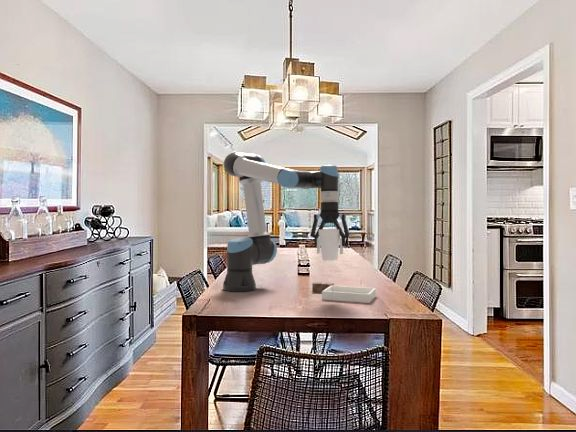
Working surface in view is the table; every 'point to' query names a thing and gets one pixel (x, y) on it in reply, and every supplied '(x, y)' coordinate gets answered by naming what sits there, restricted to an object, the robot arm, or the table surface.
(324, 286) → the walnut block
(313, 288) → the walnut block
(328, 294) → the tray
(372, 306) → the table surface
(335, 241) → the foam cup
